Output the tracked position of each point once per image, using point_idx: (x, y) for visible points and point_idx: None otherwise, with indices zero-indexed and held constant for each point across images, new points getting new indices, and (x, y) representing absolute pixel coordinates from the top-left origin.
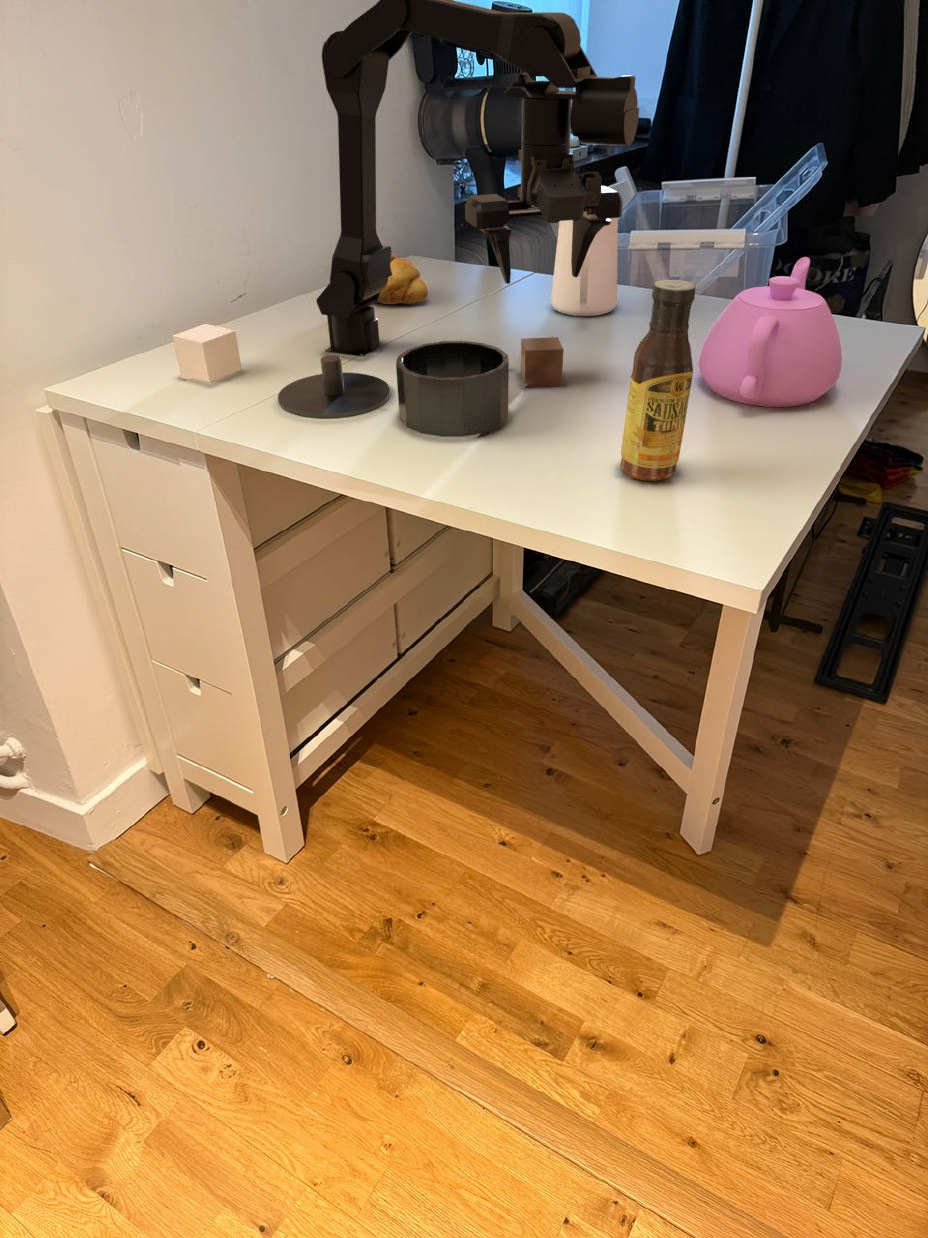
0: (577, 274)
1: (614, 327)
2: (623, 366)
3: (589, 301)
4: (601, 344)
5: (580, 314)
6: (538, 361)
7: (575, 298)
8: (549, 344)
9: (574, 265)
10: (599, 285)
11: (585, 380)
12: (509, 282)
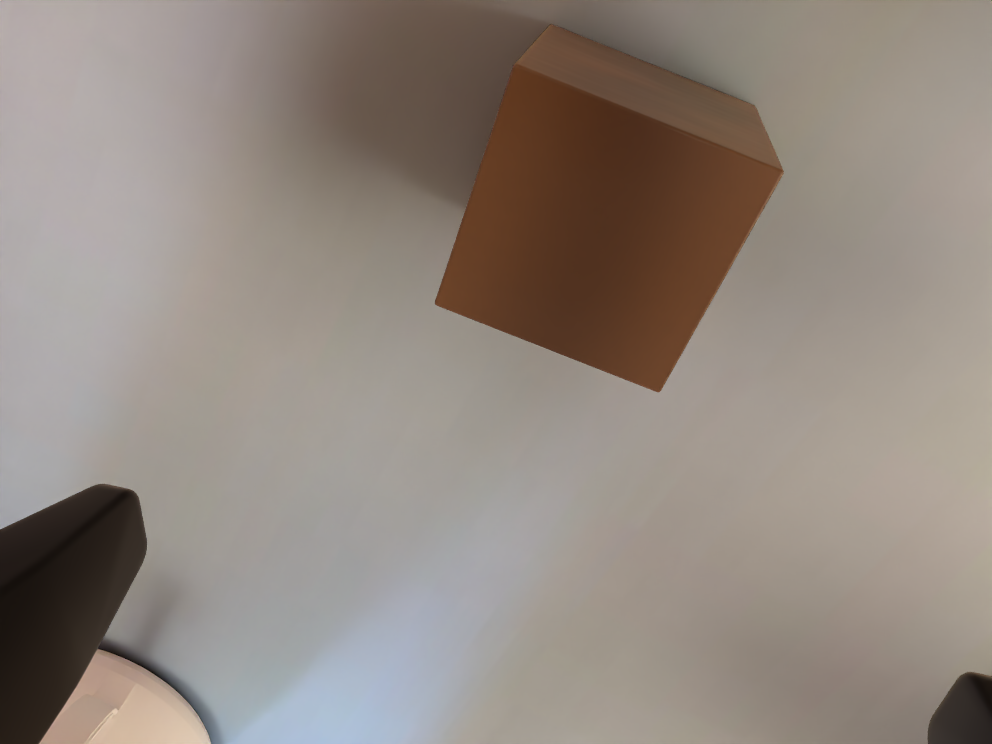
0: (92, 494)
1: None
2: (125, 138)
3: (80, 696)
4: (147, 421)
5: (140, 669)
6: (687, 114)
7: (126, 732)
8: (555, 204)
9: (63, 603)
10: None
11: (383, 46)
12: (984, 677)
